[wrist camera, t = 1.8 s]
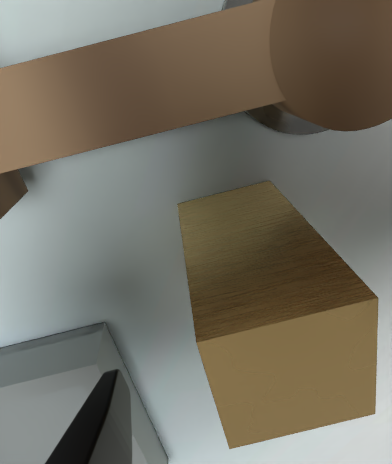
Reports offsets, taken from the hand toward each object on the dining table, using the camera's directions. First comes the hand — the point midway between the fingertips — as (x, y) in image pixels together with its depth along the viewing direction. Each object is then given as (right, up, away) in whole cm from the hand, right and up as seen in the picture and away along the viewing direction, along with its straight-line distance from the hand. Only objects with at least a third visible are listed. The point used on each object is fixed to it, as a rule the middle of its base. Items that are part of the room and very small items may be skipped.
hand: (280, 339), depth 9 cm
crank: (-3, +8, +2) cm, 9 cm away
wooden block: (-1, +3, +6) cm, 7 cm away
